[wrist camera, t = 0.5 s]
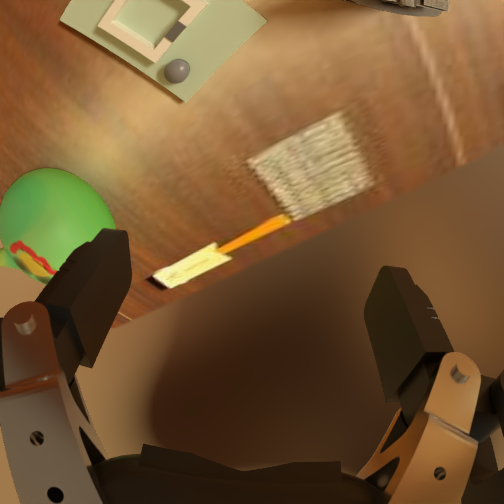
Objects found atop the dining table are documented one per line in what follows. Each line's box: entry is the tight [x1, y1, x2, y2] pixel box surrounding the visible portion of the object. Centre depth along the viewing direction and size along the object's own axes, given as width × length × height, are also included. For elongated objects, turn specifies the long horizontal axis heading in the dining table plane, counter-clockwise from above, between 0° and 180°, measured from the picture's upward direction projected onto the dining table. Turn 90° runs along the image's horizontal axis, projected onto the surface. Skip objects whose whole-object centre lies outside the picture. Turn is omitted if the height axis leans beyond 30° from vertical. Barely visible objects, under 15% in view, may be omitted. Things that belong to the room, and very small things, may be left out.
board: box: [60, 0, 267, 103], centre depth 22 cm, size 18×12×3 cm, turn 47°
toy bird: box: [0, 168, 116, 285], centre depth 36 cm, size 18×17×15 cm
